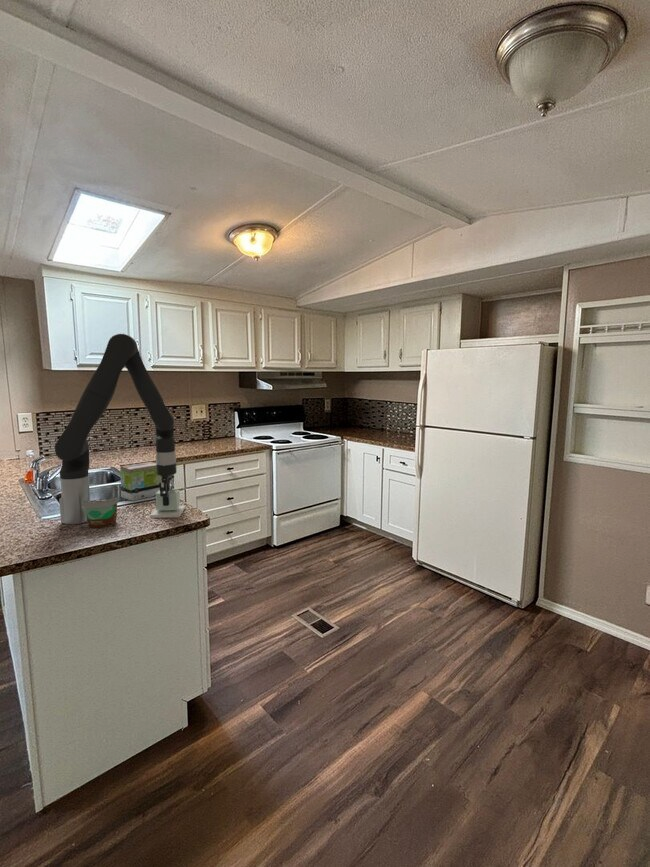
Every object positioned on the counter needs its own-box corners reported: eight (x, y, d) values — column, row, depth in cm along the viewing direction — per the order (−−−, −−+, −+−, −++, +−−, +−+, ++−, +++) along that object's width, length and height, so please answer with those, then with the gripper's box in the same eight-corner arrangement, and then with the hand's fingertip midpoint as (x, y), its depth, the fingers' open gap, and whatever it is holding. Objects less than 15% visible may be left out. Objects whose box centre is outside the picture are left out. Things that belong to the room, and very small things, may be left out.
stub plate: (150, 517, 161) (149, 508, 160) (158, 509, 172) (157, 500, 171) (179, 517, 162) (178, 508, 162) (185, 508, 173) (185, 499, 172)
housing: (156, 510, 164) (155, 493, 163) (159, 506, 169) (159, 490, 168) (177, 510, 165) (176, 493, 164) (179, 506, 170) (179, 489, 169)
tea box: (132, 501, 181) (130, 469, 179) (121, 497, 187) (119, 466, 185) (163, 494, 193) (162, 463, 191) (151, 490, 199) (150, 460, 197)
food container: (79, 530, 147) (77, 503, 146) (84, 524, 153) (82, 498, 152) (116, 527, 150) (115, 501, 149) (120, 521, 156) (118, 496, 155)
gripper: (161, 459, 171) (163, 498, 173) (151, 466, 157) (153, 509, 159) (180, 458, 172) (181, 498, 174) (171, 466, 157) (173, 508, 160)
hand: (167, 503), depth 166 cm, fingers open, 5 cm apart
